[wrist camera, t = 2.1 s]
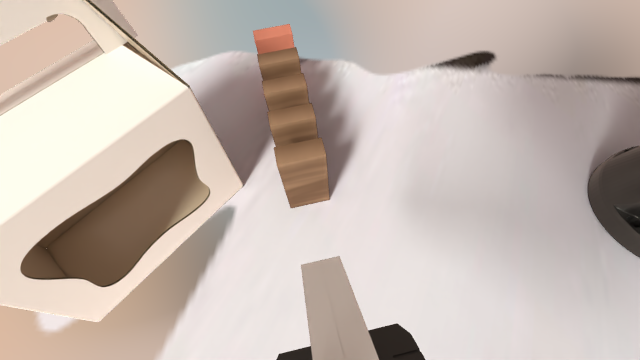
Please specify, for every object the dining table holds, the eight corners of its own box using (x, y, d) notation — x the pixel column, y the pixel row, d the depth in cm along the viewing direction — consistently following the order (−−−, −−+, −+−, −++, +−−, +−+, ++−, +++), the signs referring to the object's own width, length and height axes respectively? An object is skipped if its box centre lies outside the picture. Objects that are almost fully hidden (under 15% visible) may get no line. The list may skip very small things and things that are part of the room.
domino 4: (320, 167, 43) (315, 117, 34) (284, 175, 42) (270, 127, 34) (317, 154, 44) (311, 103, 35) (282, 162, 43) (267, 112, 35)
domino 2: (306, 113, 48) (299, 58, 39) (274, 120, 47) (259, 65, 39) (303, 103, 49) (295, 47, 40) (272, 109, 48) (257, 54, 40)
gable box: (185, 136, 47) (19, -106, 23) (245, 184, 42) (117, -59, 18) (42, 250, 39) (-444, 64, 15) (96, 325, 34) (-491, 230, 10)
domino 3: (313, 139, 45) (306, 85, 37) (279, 146, 45) (264, 94, 36) (310, 127, 46) (303, 73, 38) (276, 134, 46) (261, 81, 37)
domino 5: (329, 199, 40) (326, 154, 31) (290, 208, 40) (277, 165, 31) (325, 185, 41) (321, 137, 33) (288, 193, 41) (273, 147, 32)
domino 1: (300, 90, 50) (292, 33, 42) (269, 96, 50) (254, 40, 41) (298, 81, 51) (289, 23, 43) (267, 87, 51) (253, 30, 42)
